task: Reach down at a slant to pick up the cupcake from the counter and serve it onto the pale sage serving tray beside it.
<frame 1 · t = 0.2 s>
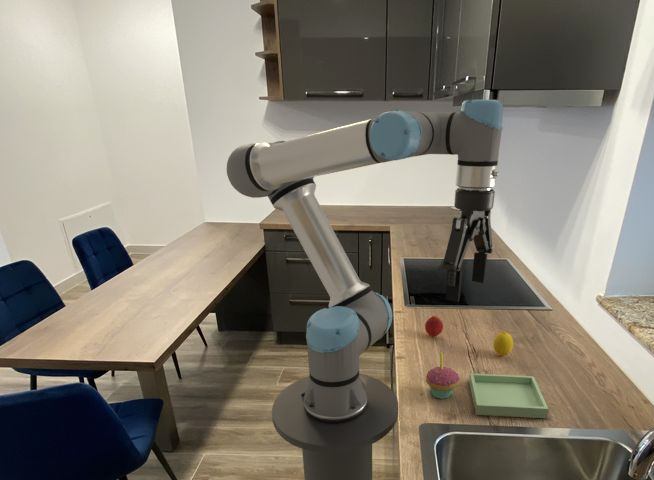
hand: (465, 290, 95), 31 cm above the counter, tool pointing down, fingers open, 13 cm apart
tray: (505, 399, 112), on the counter
cupcake: (441, 394, 115), on the counter
lemon: (501, 356, 133), on the counter
red textured round piece: (433, 337, 145), on the counter
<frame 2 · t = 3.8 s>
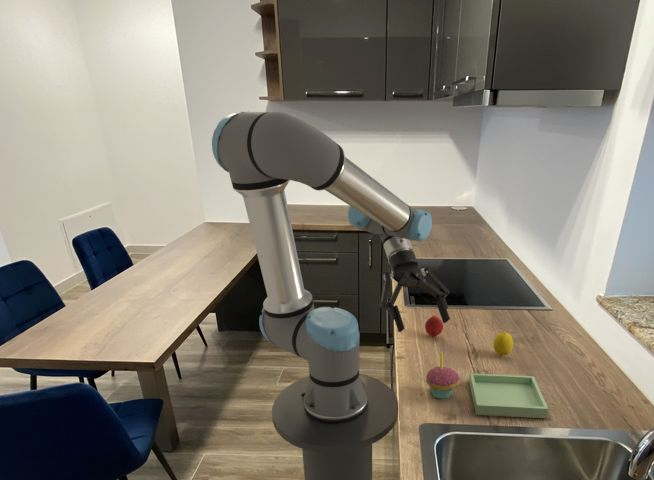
hand: (424, 325, 117), 15 cm above the counter, tool tilted 45°, fingers open, 13 cm apart
nothing on the counter moved.
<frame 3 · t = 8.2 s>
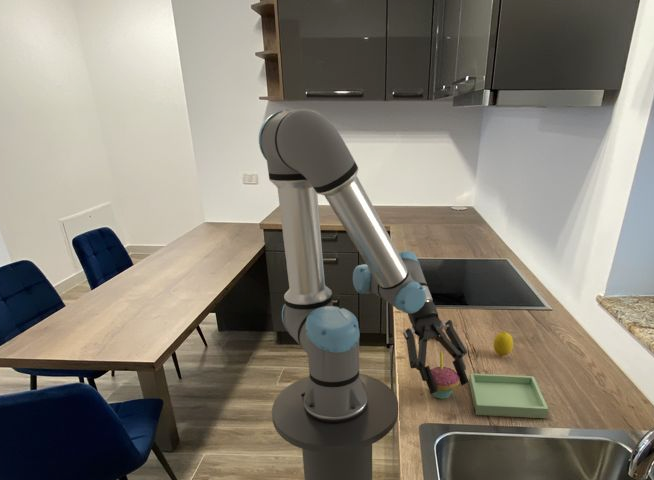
hand: (449, 387, 110), 4 cm above the counter, tool tilted 45°, fingers closed on cupcake, 8 cm apart
cupcake: (441, 394, 115), on the counter, touching gripper
everything else where it was.
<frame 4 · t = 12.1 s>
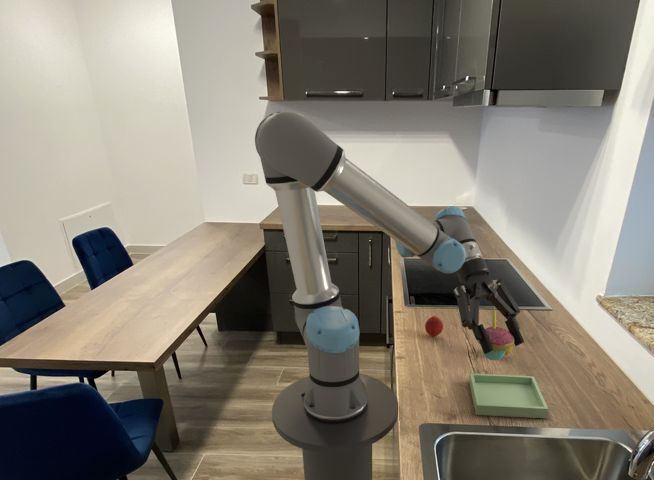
hand: (504, 347, 104), 16 cm above the counter, tool tilted 45°, fingers closed on cupcake, 8 cm apart
cupcake: (493, 356, 108), point 12 cm above the counter, touching gripper
everything else where it was.
when the fingers open (5 cm above the counter, at t = 16.2 s): cupcake stays where it is, resting on tray.
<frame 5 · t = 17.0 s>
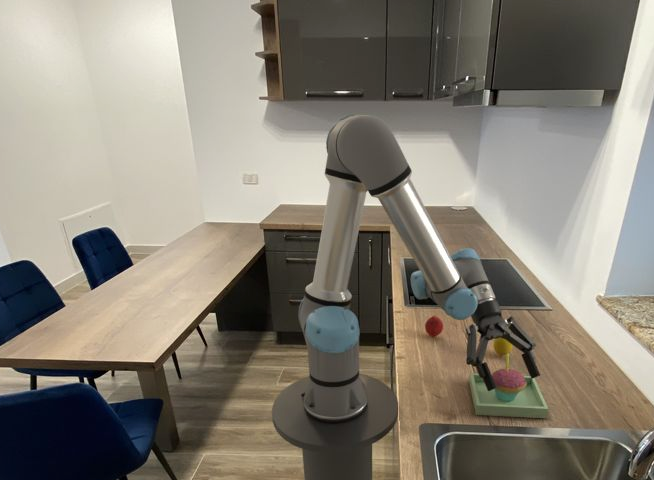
hand: (514, 383, 108), 6 cm above the counter, tool tilted 45°, fingers open, 13 cm apart
cupcake: (505, 397, 112), point 1 cm above the counter, touching tray
everything else where it was.
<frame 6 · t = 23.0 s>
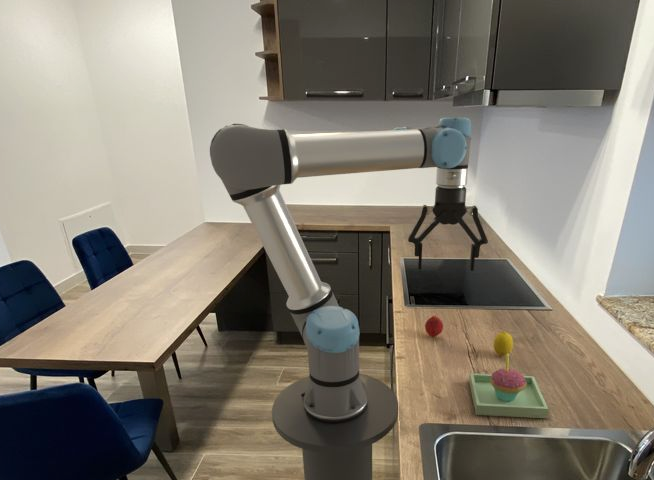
hand: (445, 268, 118), 29 cm above the counter, tool pointing down, fingers open, 13 cm apart
nothing on the counter moved.
at the end: cupcake inside the target area in the tray (0.1 cm from its centre), point 0.6 cm above the tray's base; cupcake tilted 0°; the gripper is holding nothing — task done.
